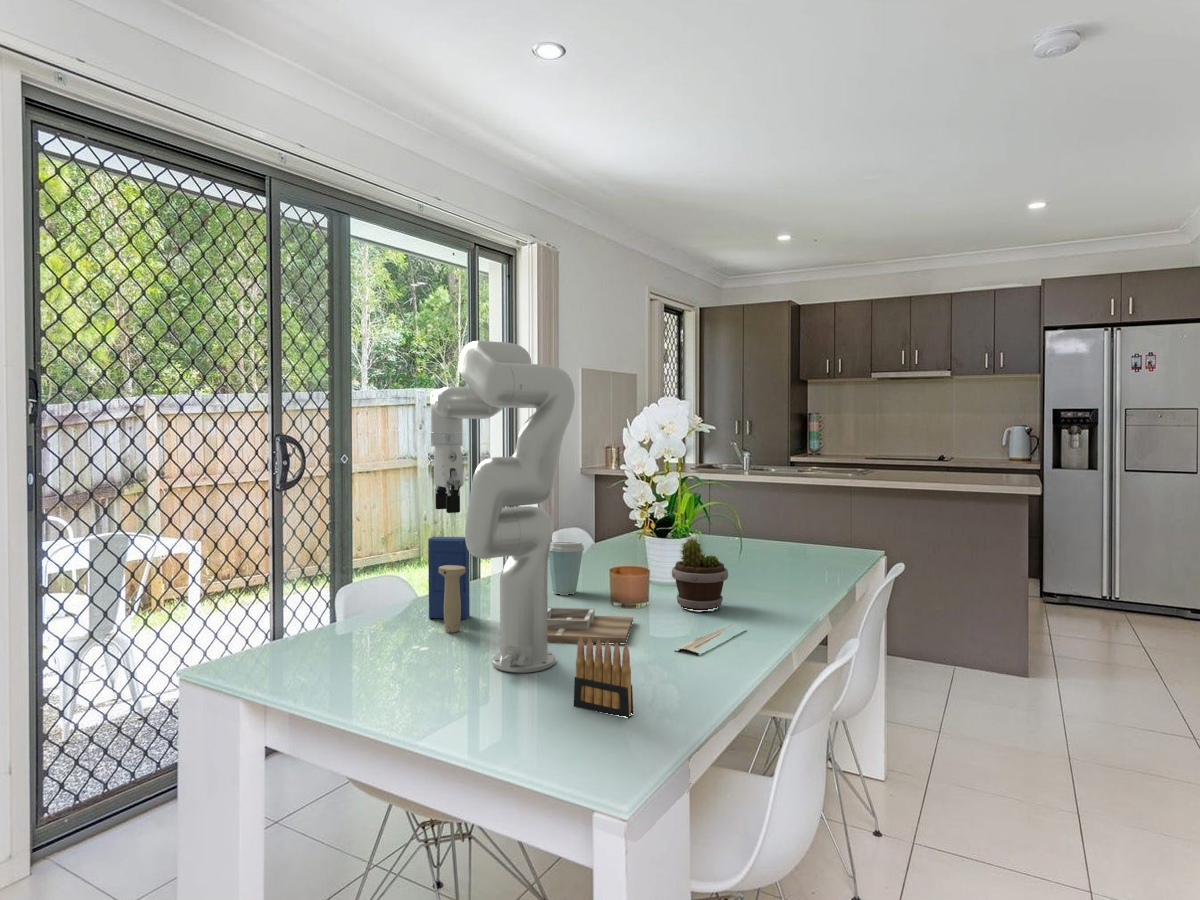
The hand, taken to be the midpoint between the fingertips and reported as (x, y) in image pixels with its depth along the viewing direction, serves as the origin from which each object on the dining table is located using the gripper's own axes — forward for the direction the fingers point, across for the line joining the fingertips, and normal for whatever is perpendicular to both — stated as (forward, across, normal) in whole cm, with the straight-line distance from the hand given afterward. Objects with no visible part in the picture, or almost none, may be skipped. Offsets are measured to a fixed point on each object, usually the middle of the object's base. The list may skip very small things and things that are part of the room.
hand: (447, 510), depth 177 cm
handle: (+28, -8, +1) cm, 29 cm away
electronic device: (+27, +5, -1) cm, 28 cm away
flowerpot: (+28, -17, -62) cm, 70 cm away
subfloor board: (+28, -22, -25) cm, 44 cm away
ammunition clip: (+28, -66, -8) cm, 72 cm away
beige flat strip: (+29, -41, -48) cm, 69 cm away
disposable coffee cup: (+27, +15, -38) cm, 50 cm away
